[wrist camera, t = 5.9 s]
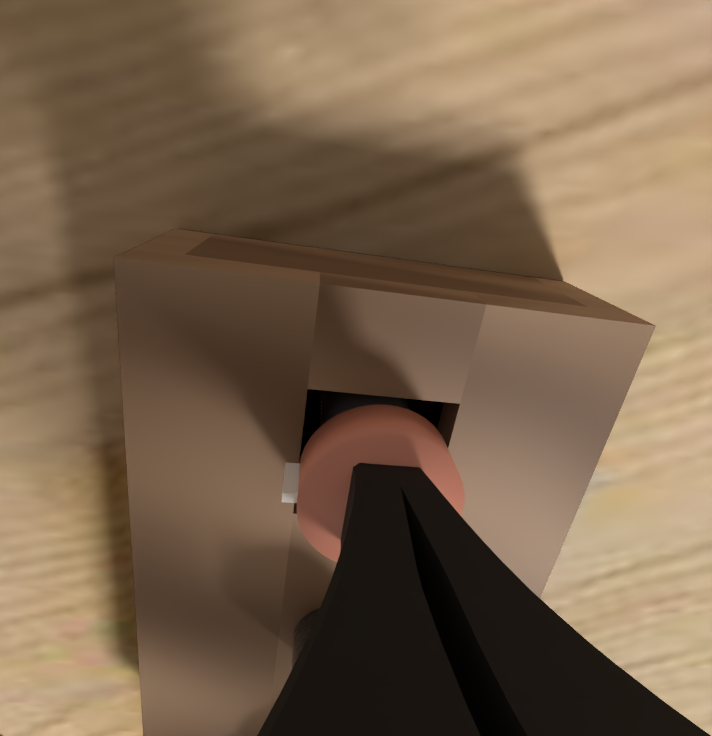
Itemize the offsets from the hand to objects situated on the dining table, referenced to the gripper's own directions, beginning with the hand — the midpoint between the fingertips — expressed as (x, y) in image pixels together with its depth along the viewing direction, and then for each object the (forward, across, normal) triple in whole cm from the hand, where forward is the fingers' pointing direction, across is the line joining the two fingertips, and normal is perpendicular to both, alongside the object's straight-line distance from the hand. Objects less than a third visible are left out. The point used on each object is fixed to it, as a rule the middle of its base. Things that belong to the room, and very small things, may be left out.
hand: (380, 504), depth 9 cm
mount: (+6, 0, +6) cm, 8 cm away
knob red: (+5, 0, 0) cm, 5 cm away
